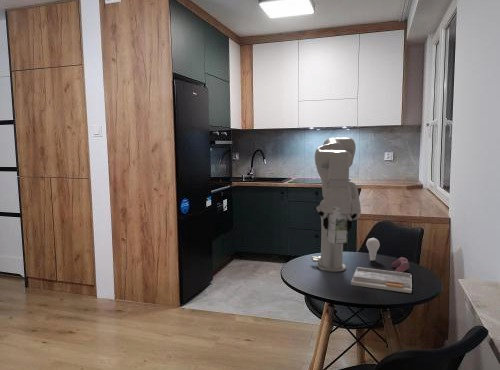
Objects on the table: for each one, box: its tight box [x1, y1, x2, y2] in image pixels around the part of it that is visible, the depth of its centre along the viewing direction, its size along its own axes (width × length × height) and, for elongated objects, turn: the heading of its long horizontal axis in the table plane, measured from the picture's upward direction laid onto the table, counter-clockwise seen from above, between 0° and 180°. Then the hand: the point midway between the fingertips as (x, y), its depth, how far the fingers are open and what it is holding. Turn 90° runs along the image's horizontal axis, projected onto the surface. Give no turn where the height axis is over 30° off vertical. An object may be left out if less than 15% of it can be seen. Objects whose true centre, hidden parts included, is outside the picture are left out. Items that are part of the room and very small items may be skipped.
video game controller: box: [391, 256, 410, 273], centre depth 163 cm, size 10×5×7 cm, turn 169°
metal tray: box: [352, 266, 411, 287], centre depth 151 cm, size 21×13×1 cm, turn 67°
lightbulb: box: [365, 237, 381, 262], centre depth 178 cm, size 6×6×11 cm
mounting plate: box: [350, 268, 413, 294], centre depth 151 cm, size 22×18×2 cm
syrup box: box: [327, 206, 349, 244], centre depth 143 cm, size 6×6×14 cm
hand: (337, 229), depth 143 cm, fingers closed on syrup box, 8 cm apart
